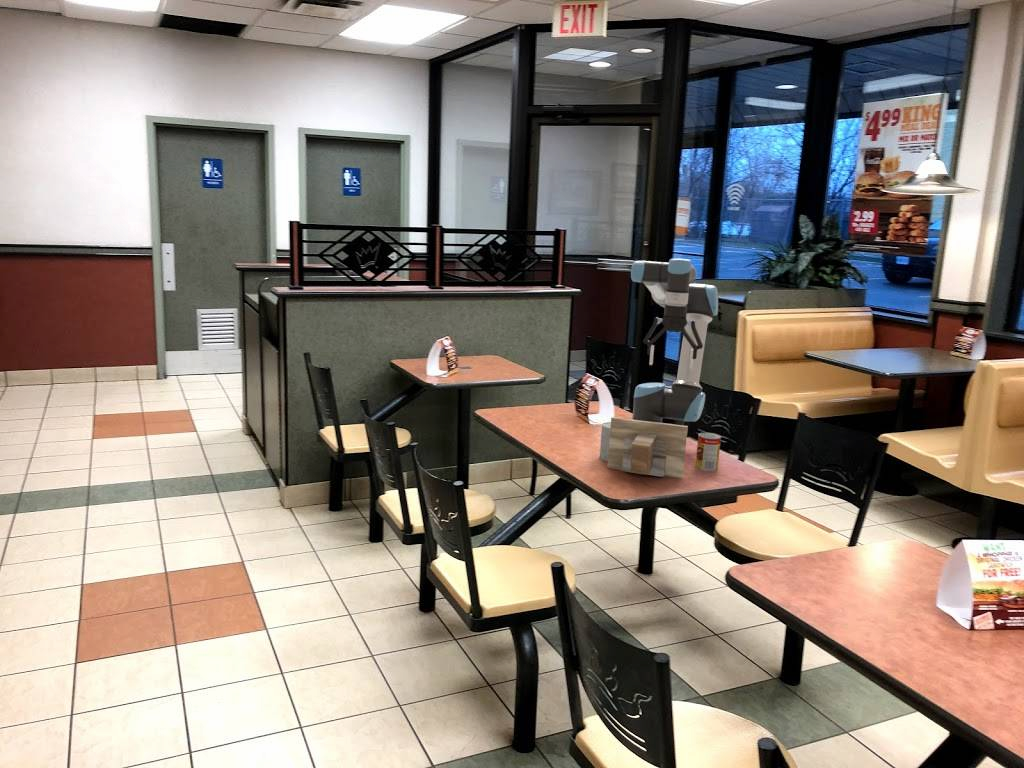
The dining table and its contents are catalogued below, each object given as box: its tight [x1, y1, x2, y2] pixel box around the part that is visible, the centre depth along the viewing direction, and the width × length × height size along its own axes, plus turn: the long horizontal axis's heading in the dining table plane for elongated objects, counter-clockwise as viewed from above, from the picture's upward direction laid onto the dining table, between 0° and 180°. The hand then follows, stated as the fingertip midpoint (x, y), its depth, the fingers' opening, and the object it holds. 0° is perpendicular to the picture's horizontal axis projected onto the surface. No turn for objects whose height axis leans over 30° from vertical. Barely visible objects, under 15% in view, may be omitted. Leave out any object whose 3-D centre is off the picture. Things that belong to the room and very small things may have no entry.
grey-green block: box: [598, 421, 611, 462], centre depth 302 cm, size 10×10×12 cm
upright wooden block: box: [629, 434, 656, 476], centre depth 278 cm, size 13×6×10 cm, turn 162°
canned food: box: [694, 432, 722, 472], centre depth 295 cm, size 8×8×12 cm
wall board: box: [607, 416, 689, 479], centre depth 284 cm, size 6×26×18 cm, turn 72°
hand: (670, 366), depth 286 cm, fingers open, 13 cm apart
